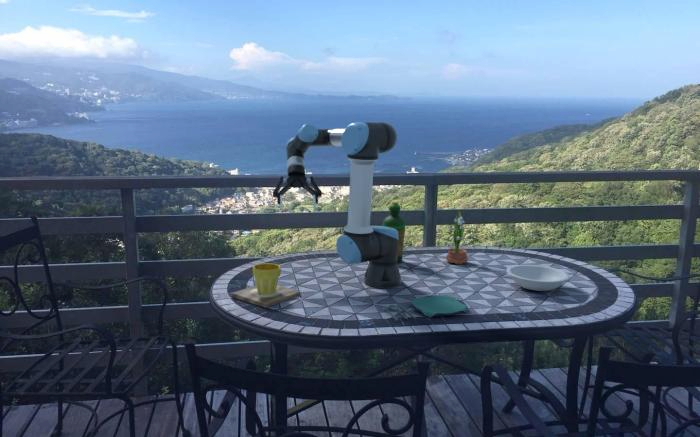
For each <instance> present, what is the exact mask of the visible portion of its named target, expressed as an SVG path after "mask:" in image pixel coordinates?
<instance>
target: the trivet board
mask: <svg viewBox="0 0 700 437" xmlns="http://www.w3.org/2000/svg"><path fill="white" fill-rule="evenodd" d="M300 296H301V291H300V290H297V289H296V290H295V289H293V288H290V287H286V286H282V285H279V284H277V287H276V291H275V293H273V294H260V293H258V291H257V286H256V285H253V286H251V287H247V288H243V289H240V290H236V291H234V292H231V298H234V299H237V300H240V301H243V302H246V303H249V304H253V305H256V306H259V307H262V308H265V309H266V308H269V307H272V306H274V305H277V304H281V303H282V302H286V301H288V300H292V299H294V298H297V297H300Z"/></svg>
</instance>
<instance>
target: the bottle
mask: <svg viewBox="0 0 700 437" xmlns="http://www.w3.org/2000/svg"><path fill="white" fill-rule="evenodd" d="M388 211H389V215H388V216H386V217H385V218H384V219H383V221H382V226H384V227H390V228H394V229H396V230H397V231H398V239H399V240H398V260H397V264H400V263H402V262H403V254H404V246H405V234H406V233H405V232H406V226H407V225H406V224H407V222H406V220H405V218H403V217H402V216H400V212H401V211H402V209H401V206H400V204H399V202H398V201H391V204H389V207H388Z"/></svg>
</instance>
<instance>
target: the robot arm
mask: <svg viewBox="0 0 700 437" xmlns="http://www.w3.org/2000/svg"><path fill="white" fill-rule="evenodd" d="M397 141H398V134H397V130H396V129H395V128H394V127H393V126H392V125H391V124H389V123H388V122H382V121H381V122H375V121H371V122H368V121H364V122H363V121H359V122H358V121H357V122H351V123H350V124H348V125H347V126H346V128H317V127H316V126H315V125H314V124H311V123H304V124H303V125H302V126H301V128H300V129H298V131H297V133H296V135H295V137H292V138H290V139H288V140H287V141H286V148H285V149H286V165H287V166H286V167H287V177H284V176H280V179H279V182H278V183H277V185H276V187H275V188H274V189H273V192H272V197H273V198H276V200H277V201H276V202H277V205H280V207H279V208H280V209H279V210H280V211H279V212H280V213H282V212H283V196H284V195H285V194H286V193H287V192H288V191H289V190H291V188H293V189H296V188H298V189H301V188H302V189H303V190H305V191H306V192H307V193H309V194H310V195H311V196H312V204H313V205H312V206H313V212H316V211H317V205H318V204H319V198H322V195H323V192H322V191H321V189H320V188H319V186H318V185H317V182H316V181H315V180H314V176H310V177H306V165H305V154H306V153H307V151H308V150H309V149H310V148H311V147H313V148H315V147H342V151H343V152H344V153H345V154H346V155H347V156H346V158H347V160H348V161H349V162H350V176H349V192H348V195H349V196H348V209H347V210H348V212H347V213H348V214H347V224H346V225H345V226H344V227H343V232H342V233H343V234H342V235H340V236H338V238H336V252H337V254H338V256H339V257H340V259H341V261H342V262H343V263H344V264H347V265H359V264H363V263H367V262H368V265H367V267H366V271H365V274H364V276H363V278H364V279H363V282H364V284H365V285H367V286H370V287H373V288H379V289H380V288H381V289H382V288H383V289H385V288H386V289H387V288H389V289H390V288H395V287H398V286H400V285H401V284H402V276H401V273H400V269H399V266H398V263H397V260H398V240H399V239H398V231H397V230H396V229H394V228H390V227H384V226H383V225H371V214H372V212H371V211H372V199H373V183H374V182H373V180H374V166H375V163H376V162H377V161H378V160H379V154H385V153H387V152H390V151H391V150H393V149H394V148H395V146H396V144H397V143H398V142H397ZM307 182H308V183H307ZM285 183H286V184H285ZM284 184H285V186H283V185H284ZM309 184H310V185H309Z"/></svg>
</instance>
